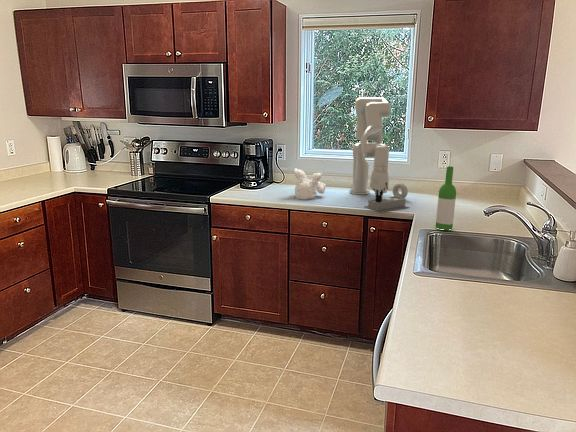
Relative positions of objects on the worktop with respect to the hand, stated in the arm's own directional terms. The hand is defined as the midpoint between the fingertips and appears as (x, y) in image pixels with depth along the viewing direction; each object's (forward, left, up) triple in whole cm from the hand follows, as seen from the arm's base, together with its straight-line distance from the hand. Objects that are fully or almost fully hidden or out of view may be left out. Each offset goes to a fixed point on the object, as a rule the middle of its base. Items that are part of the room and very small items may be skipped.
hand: (378, 201), depth 265 cm
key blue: (0, +7, -2) cm, 7 cm away
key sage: (0, +13, -3) cm, 13 cm away
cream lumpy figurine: (-44, -15, -4) cm, 47 cm away
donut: (-11, +28, -4) cm, 30 cm away
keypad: (0, +7, -4) cm, 8 cm away
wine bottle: (+45, +1, -4) cm, 45 cm away
